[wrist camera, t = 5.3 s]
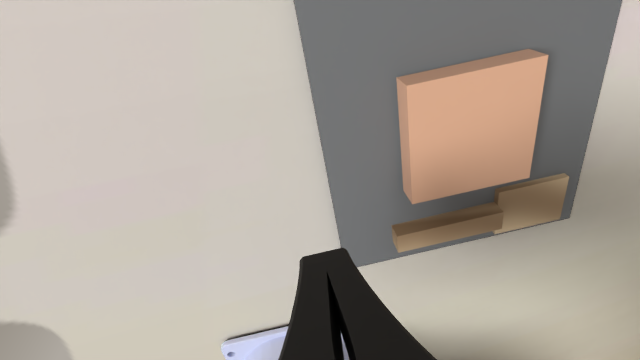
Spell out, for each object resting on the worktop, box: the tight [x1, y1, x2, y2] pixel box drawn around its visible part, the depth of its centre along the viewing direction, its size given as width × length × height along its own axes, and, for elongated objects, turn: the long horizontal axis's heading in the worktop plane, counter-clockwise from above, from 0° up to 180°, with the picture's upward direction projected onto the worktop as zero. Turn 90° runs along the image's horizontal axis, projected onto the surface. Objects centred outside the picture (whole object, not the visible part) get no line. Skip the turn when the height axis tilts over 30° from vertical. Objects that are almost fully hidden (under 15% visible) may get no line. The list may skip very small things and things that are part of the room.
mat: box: [294, 0, 622, 267], centre depth 18 cm, size 16×14×1 cm
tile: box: [396, 49, 548, 204], centre depth 17 cm, size 6×2×6 cm
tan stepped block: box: [391, 173, 569, 253], centre depth 20 cm, size 3×10×1 cm, turn 100°
